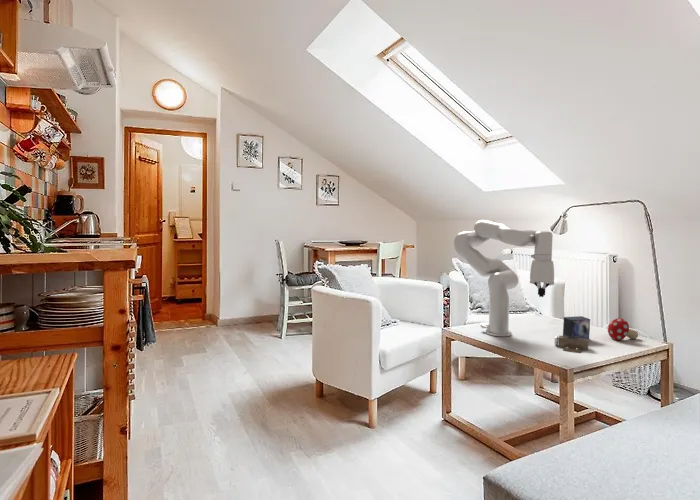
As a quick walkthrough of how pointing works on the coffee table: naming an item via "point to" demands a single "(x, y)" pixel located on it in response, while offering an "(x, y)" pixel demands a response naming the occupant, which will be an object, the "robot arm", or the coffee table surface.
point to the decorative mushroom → (620, 330)
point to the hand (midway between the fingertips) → (541, 296)
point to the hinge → (573, 343)
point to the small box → (576, 327)
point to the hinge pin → (556, 340)
